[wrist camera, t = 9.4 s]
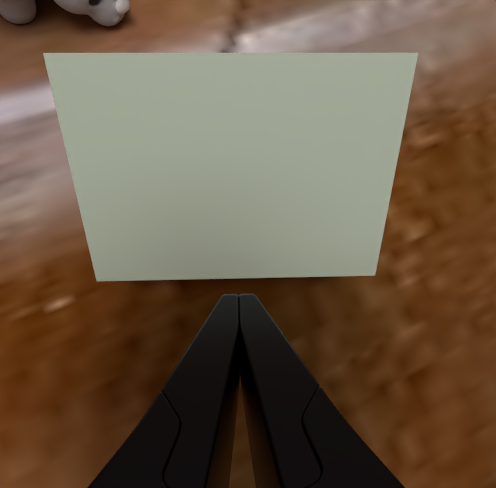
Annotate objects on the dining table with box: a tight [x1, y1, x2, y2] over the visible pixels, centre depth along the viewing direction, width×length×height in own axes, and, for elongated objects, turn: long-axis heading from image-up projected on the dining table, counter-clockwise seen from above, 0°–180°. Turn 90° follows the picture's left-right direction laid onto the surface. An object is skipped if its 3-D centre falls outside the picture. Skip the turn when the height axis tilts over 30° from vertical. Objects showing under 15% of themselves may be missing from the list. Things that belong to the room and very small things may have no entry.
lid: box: [43, 53, 418, 281], centre depth 16 cm, size 10×14×1 cm
